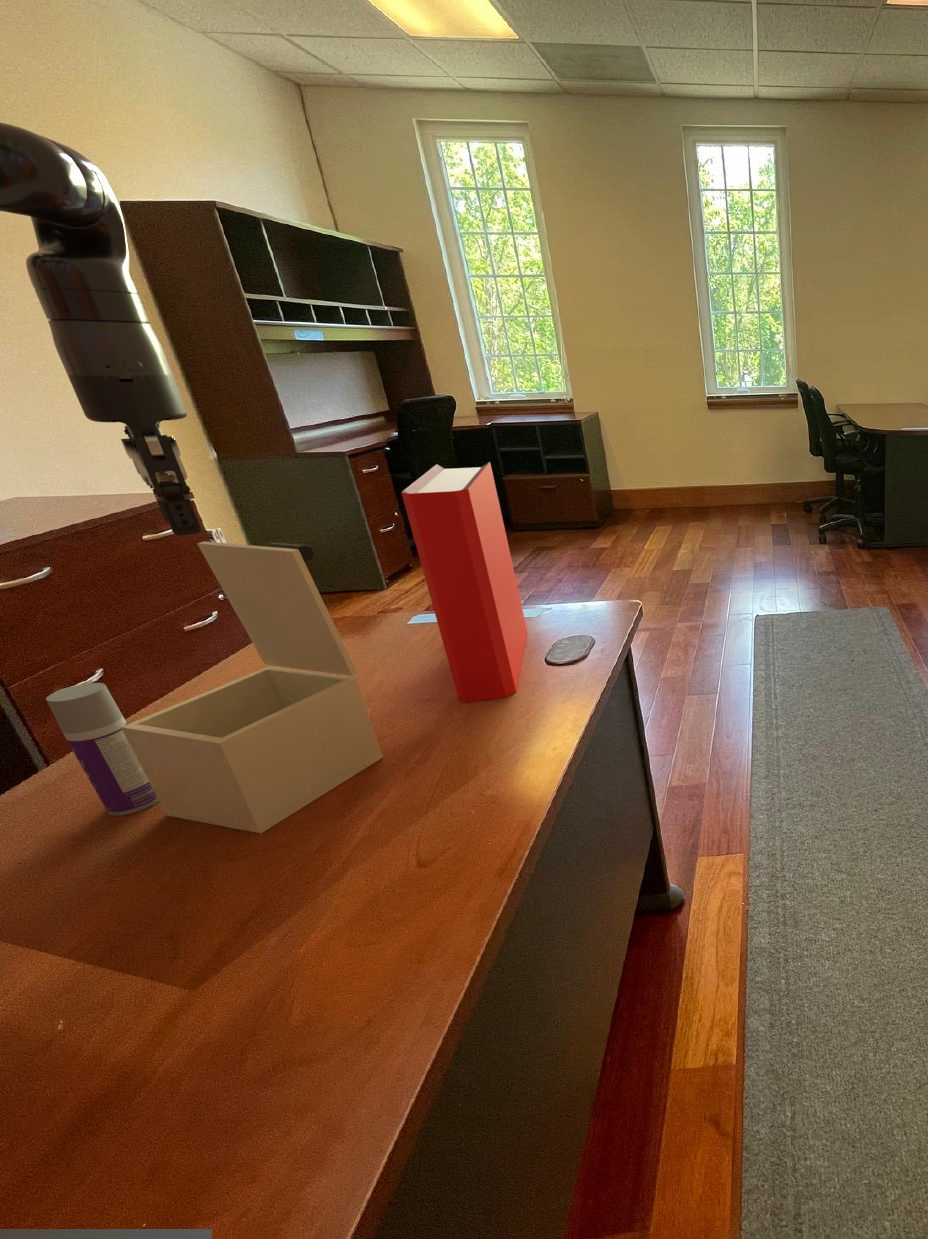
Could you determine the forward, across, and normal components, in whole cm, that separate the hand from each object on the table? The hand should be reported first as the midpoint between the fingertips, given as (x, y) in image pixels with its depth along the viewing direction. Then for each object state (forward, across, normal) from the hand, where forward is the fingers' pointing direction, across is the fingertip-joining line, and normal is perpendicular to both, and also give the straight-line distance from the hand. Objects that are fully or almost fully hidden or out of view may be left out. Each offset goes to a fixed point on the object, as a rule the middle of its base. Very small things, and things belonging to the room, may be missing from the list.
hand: (183, 527), depth 74 cm
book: (+31, -10, +31) cm, 45 cm away
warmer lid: (+11, +3, +5) cm, 12 cm away
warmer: (+31, +7, -1) cm, 32 cm away
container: (+32, -1, -13) cm, 34 cm away
